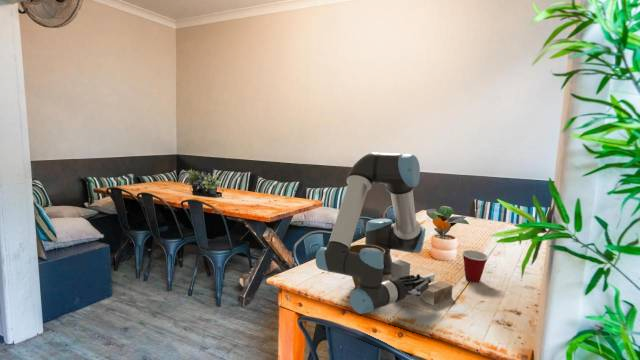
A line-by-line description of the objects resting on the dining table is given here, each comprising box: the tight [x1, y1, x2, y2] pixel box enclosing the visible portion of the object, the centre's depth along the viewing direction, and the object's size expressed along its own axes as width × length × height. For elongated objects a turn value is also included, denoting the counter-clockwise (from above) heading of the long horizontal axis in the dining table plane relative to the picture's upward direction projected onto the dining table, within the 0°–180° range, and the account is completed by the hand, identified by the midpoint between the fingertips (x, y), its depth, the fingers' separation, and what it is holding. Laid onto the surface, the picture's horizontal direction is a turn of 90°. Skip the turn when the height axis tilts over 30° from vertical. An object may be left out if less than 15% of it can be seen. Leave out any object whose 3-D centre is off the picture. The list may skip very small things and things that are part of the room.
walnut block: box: [421, 280, 453, 306], centre depth 139 cm, size 5×5×12 cm
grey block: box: [390, 259, 411, 278], centre depth 144 cm, size 5×5×12 cm
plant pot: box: [349, 243, 385, 289], centre depth 146 cm, size 15×15×16 cm
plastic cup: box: [461, 249, 490, 284], centre depth 159 cm, size 11×11×12 cm
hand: (432, 277), depth 136 cm, fingers closed
